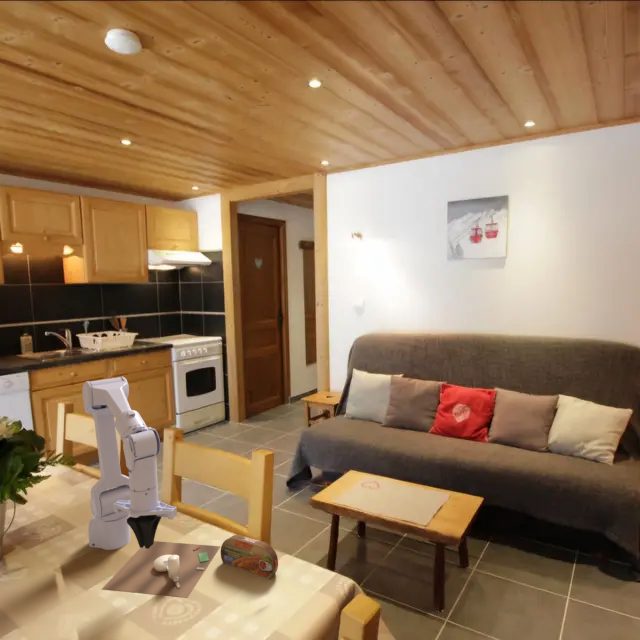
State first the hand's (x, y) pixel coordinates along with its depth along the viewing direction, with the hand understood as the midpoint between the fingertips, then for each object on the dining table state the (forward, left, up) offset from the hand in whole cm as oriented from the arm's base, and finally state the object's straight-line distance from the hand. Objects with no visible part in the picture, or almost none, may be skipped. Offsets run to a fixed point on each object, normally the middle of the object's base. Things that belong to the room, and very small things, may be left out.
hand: (146, 545), depth 101 cm
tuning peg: (+3, +5, -9) cm, 10 cm away
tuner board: (+1, +6, -10) cm, 12 cm away
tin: (+21, +8, -11) cm, 25 cm away
